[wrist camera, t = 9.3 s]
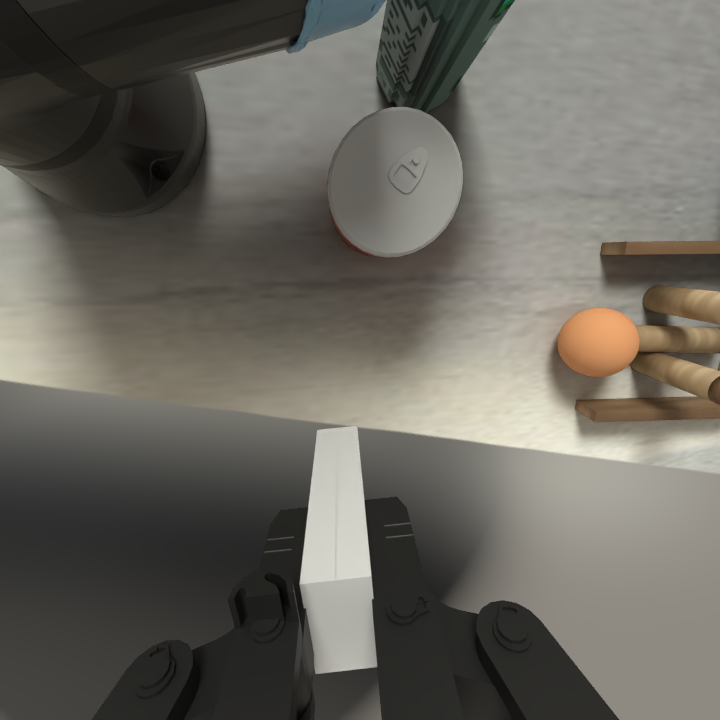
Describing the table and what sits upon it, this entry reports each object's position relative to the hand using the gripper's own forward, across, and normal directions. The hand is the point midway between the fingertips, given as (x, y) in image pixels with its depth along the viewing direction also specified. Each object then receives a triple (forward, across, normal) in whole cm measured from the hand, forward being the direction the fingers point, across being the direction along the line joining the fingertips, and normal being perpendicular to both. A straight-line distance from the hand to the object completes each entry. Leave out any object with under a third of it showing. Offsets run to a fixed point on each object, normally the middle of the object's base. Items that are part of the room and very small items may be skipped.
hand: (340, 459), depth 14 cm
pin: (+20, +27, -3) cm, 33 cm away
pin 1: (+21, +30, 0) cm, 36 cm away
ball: (+18, +22, -2) cm, 29 cm away
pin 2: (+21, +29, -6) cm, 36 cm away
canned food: (+22, +4, +10) cm, 24 cm away
